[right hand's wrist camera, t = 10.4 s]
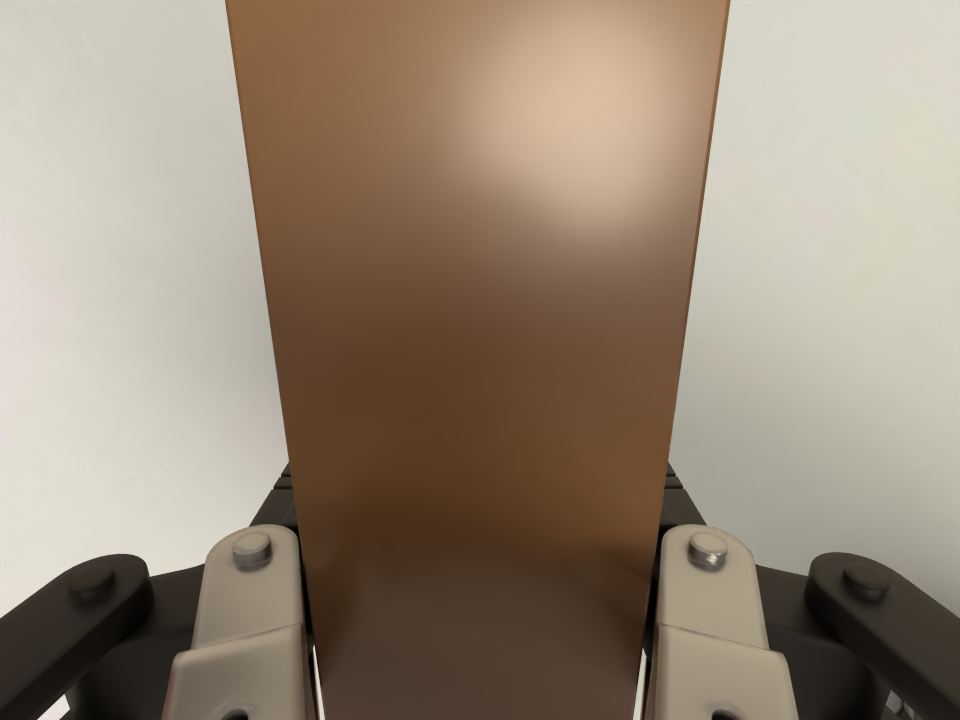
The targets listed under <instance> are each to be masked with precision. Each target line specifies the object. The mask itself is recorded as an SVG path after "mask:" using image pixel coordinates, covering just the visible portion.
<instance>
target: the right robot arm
mask: <svg viewBox="0 0 960 720" xmlns="http://www.w3.org/2000/svg"><path fill="white" fill-rule="evenodd" d="M313 646H314V637H313V629H312V622H311V615H310V608H309V601H308V593H307V586H306V579H305V572H304V565H303V557H302V550H301V543H300V536H299V529H298V521H297V514H296V507H295V500H294V493H293V485H292V478H291V471H290V464H289V463H288V464H287V466H286V467H285V469H284V471H283V472H282V474H281V477H279V479H278V480H277V482H276V484H275V485H274V489H273V490H271V492H270V493H269V495H268V496H267V498H266V500H265V501H264V503H263V505H262V506H261V508H260V509H259V511H258V513H257V514H256V516H255V517H254V519H253V521H252V522H251V524H250V526H249V527H247V528H244V529H241V530H238V531H236V532H234V533H232V534H230V535H228V536H226V537H225V538H223V539H222V540H220V541H219V542H218V543H217V544H216V545H215V546H214V547H213V548H212V549H211V550H210V552H209V554H208V555H207V558H206V561H205V564H202V565H199V566H196V567H192V568H188V569H184V570H179V571H175V572H170V573H166V574H161V575H156V576H152V577H150V576H149V572H148V568H147V565H146V563H145V561H144V560H143V559H141V558H139V557H138V556H134V555H130V554H113V555H107V556H102V557H98V558H95V559H91V560H89V561H86V562H83V563H81V564H79V565H76V566H74V567H72V568H71V569H69V570H67V571H65V572H64V573H62V574H61V575H59V576H58V577H56V578H55V579H53V580H52V581H51V582H49V583H48V584H47V585H45V586H44V587H42V588H41V589H40V590H38V591H37V592H36V593H34V594H33V595H32V596H30V597H29V598H27V599H26V600H25V601H23V602H22V603H21V604H19V605H18V606H17V607H15V608H14V609H12V610H11V611H10V612H8V613H7V614H6V615H4V616H3V617H2V618H0V720H37V719H38V718H39V717H40V716H41V715H42V714H44V713H45V712H46V711H47V710H48V709H49V708H50V707H51V706H52V705H53V704H54V703H55V702H56V701H57V700H58V699H59V698H60V697H61V696H62V695H64V694H65V696H66V699H67V702H68V705H69V707H70V710H69V711H68V712H67V713H66V714H65V715H64V716H63V717H62V718H61V719H60V720H320V715H319V703H318V690H317V678H316V666H315V659H314V652H313ZM643 649H644V652H645V654H646V659H645V667H644V678H643V690H642V703H641V715H640V720H960V618H958V617H957V616H956V615H954V614H953V613H952V612H950V611H949V610H947V609H946V608H945V607H943V606H942V605H941V604H939V603H938V602H937V601H935V600H934V599H932V598H931V597H930V596H928V595H927V594H926V593H924V592H923V591H922V590H920V589H919V588H917V587H916V586H915V585H913V584H912V583H911V582H909V581H908V580H907V579H905V578H904V577H903V576H901V575H900V574H898V573H897V572H895V571H894V570H892V569H890V568H888V567H887V566H885V565H883V564H881V563H878V562H876V561H874V560H871V559H868V558H865V557H862V556H859V555H854V554H849V553H841V552H832V553H825V554H822V555H819V556H817V557H816V558H815V559H814V560H813V561H812V563H811V566H810V570H809V574H808V576H803V575H799V574H794V573H790V572H785V571H780V570H776V569H771V568H767V567H763V566H759V565H756V564H755V561H754V558H753V555H752V554H751V552H750V550H749V549H748V548H747V547H746V546H745V545H744V544H743V543H742V542H741V541H740V540H738V539H737V538H735V537H734V536H732V535H730V534H728V533H726V532H724V531H722V530H719V529H716V528H713V527H709V526H707V525H706V523H705V521H704V520H703V518H702V516H701V515H700V513H699V512H698V510H697V508H696V507H695V505H694V503H693V502H692V500H691V498H690V497H689V495H688V493H687V492H686V490H685V489H683V485H682V484H681V482H680V480H679V479H678V477H676V474H675V472H674V470H673V469H672V467H671V466H670V464H669V462H668V465H667V472H666V479H665V487H664V494H663V501H662V509H661V516H660V523H659V531H658V538H657V546H656V553H655V560H654V568H653V575H652V582H651V590H650V597H649V605H648V612H647V619H646V627H645V634H644V641H643ZM891 690H892V691H893V692H894V693H895V694H896V695H897V696H899V697H900V698H901V699H902V700H903V701H904V710H903V711H902V713H901V714H900V715H899V716H898V717H897V716H896V715H895V714H894V713H893V712H892V711H891V710H890V709H889V708H888V707H887V706H886V702H887V699H888V696H889V694H890V691H891Z"/></svg>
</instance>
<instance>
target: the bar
mask: <svg viewBox="0 0 960 720" xmlns="http://www.w3.org/2000/svg"><path fill="white" fill-rule="evenodd" d="M225 3H226V10H227V18H228V25H229V32H230V39H231V46H232V54H233V61H234V68H235V75H236V82H237V90H238V97H239V104H240V111H241V118H242V126H243V133H244V140H245V147H246V154H247V162H248V169H249V176H250V183H251V190H252V197H253V205H254V212H255V219H256V226H257V233H258V241H259V248H260V255H261V262H262V269H263V277H264V284H265V291H266V298H267V305H268V313H269V320H270V327H271V334H272V341H273V349H274V356H275V363H276V370H277V377H278V385H279V392H280V399H281V406H282V413H283V421H284V428H285V435H286V442H287V449H288V457H289V464H290V471H291V478H292V485H293V493H294V500H295V507H296V514H297V521H298V529H299V536H300V543H301V550H302V557H303V565H304V572H305V579H306V586H307V593H308V601H309V608H310V615H311V622H312V629H313V637H314V644H315V651H316V658H317V665H318V673H319V680H320V687H321V694H322V701H323V709H324V716H325V720H633V715H634V708H635V700H636V693H637V686H638V678H639V671H640V663H641V656H642V649H643V641H644V634H645V627H646V619H647V612H648V605H649V597H650V590H651V582H652V575H653V568H654V560H655V553H656V546H657V538H658V531H659V523H660V516H661V509H662V501H663V494H664V487H665V479H666V472H667V465H668V457H669V450H670V442H671V435H672V428H673V420H674V413H675V406H676V398H677V391H678V383H679V376H680V369H681V361H682V354H683V347H684V339H685V332H686V325H687V317H688V310H689V302H690V295H691V288H692V280H693V273H694V266H695V258H696V251H697V243H698V236H699V229H700V221H701V214H702V207H703V199H704V192H705V185H706V177H707V170H708V162H709V155H710V148H711V140H712V133H713V126H714V118H715V111H716V103H717V96H718V89H719V81H720V74H721V67H722V59H723V52H724V45H725V37H726V30H727V22H728V15H729V8H730V0H225Z"/></svg>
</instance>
